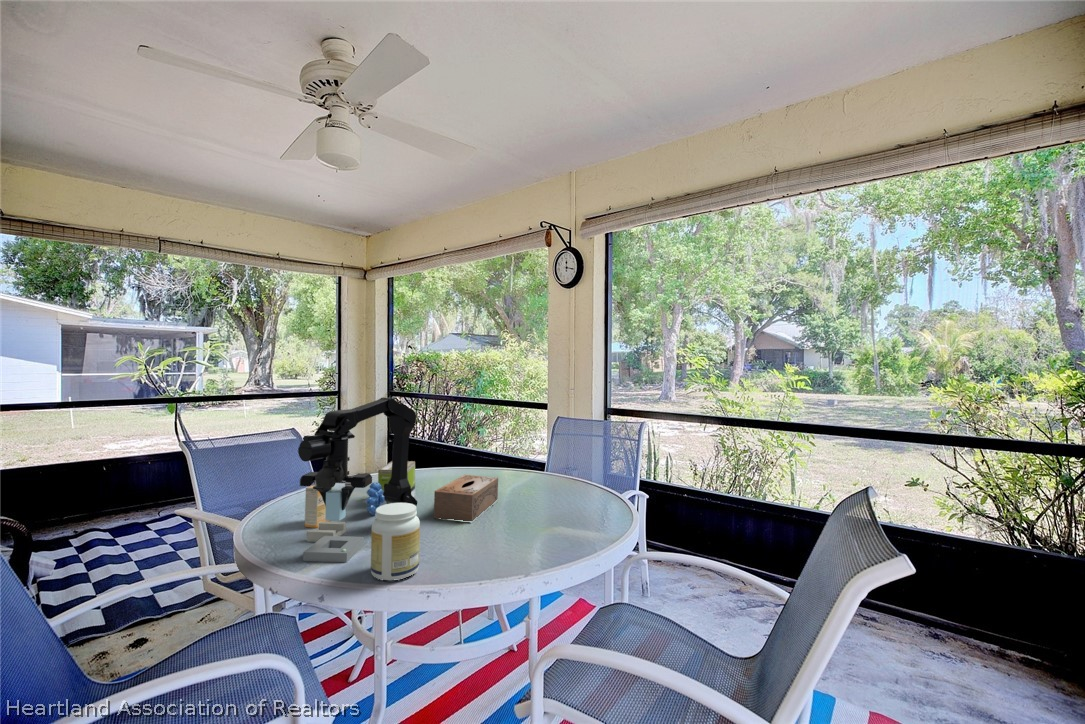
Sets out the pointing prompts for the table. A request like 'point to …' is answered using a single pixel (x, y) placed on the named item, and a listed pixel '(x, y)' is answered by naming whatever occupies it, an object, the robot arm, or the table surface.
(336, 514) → the plug
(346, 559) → the socket
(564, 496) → the table surface
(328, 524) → the grey square frame
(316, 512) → the supplement box
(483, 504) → the tissue box cover
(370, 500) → the grapes
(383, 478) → the tea box
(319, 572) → the table surface
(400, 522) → the supplement tub
